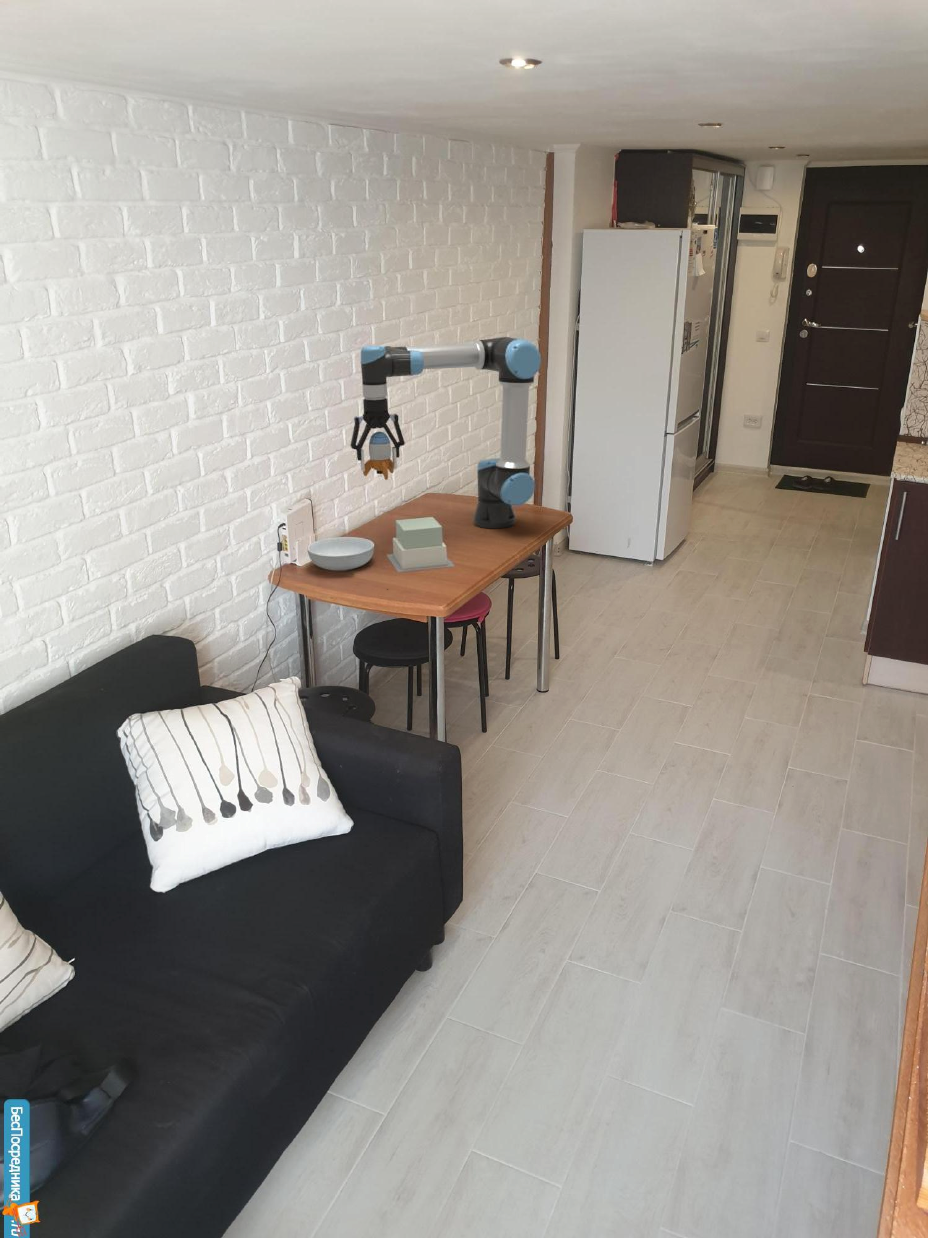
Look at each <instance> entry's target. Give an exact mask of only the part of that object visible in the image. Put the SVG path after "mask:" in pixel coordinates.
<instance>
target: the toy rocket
mask: <svg viewBox="0 0 928 1238" xmlns="http://www.w3.org/2000/svg"><path fill="white" fill-rule="evenodd" d="M391 445H392V444H391V439H390V438H389V436H388V434H387V433H386V432H383V431H376V432H374V433H372V435H371V436H370V439H369V443H368V455H369V460H367V461H366V462H364V465H365V471H362V473H363V476H364V477H367V476H368V475H369V472H371V470H372V469H373V470H374V471H376V474H378V475H383V478H384V480H385V481H387V480H388V479H389V472H390V473H391V474H394V470H395V469H394V468H393V460H391V458H392V457H391V456H392V446H391Z"/></svg>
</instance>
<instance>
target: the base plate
mask: <svg viewBox="0 0 928 1238" xmlns="http://www.w3.org/2000/svg"><path fill="white" fill-rule="evenodd" d="M386 557H387V558H388V560H389V561H390V563H391V564H392V565H393V567H394V569H395V570H396V571H397V573H402V572H411V571H412V572H414V571H421V570H422V571H423V570H431V569H441V568H449V567H451V568H452V567H455V564H453V562H452V561H451V559H449V557H447V565H439V566H430V567H420V568H411V569H402V567H401V566H400V564H399V563H398V561H397V560H396V559H395V557H394V553H390V554H389V553H388V554H386Z"/></svg>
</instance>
